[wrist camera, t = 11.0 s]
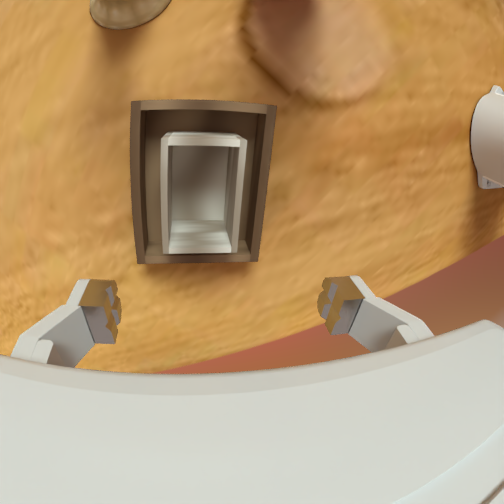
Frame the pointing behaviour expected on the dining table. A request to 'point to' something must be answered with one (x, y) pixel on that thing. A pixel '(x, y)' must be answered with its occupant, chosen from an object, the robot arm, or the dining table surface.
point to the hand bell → (125, 12)
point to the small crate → (201, 191)
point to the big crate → (149, 167)
